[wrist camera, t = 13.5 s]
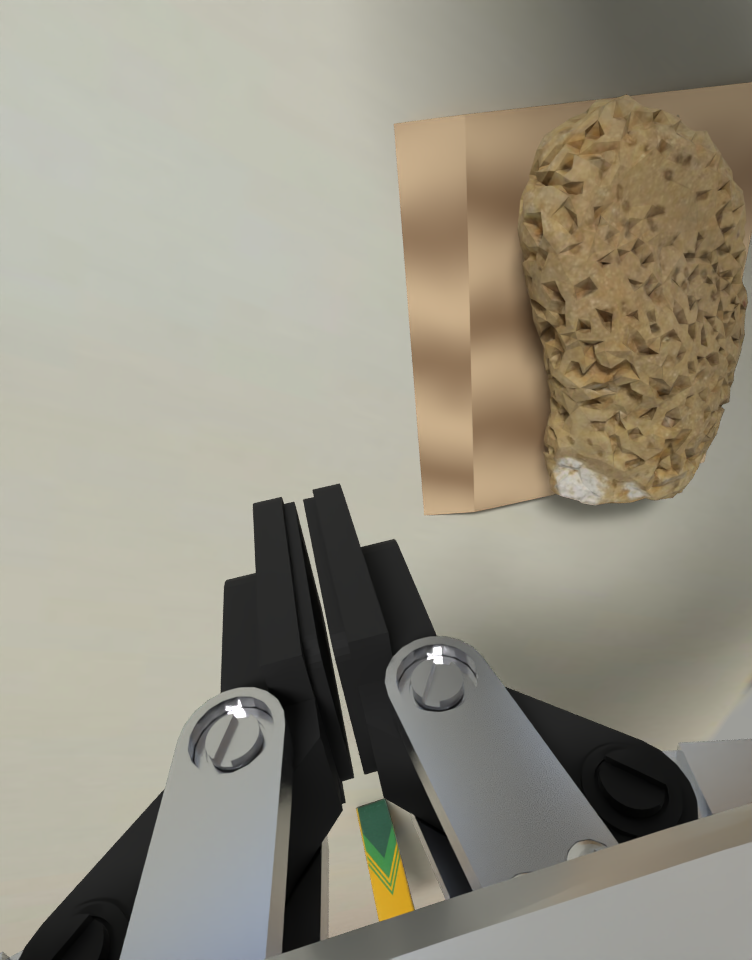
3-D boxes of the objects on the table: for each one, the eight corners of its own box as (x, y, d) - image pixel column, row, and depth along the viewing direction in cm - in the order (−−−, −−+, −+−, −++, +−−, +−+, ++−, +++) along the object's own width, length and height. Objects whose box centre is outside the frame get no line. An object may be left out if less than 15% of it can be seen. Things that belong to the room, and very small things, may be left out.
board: (362, 129, 27) (370, 125, 25) (752, 84, 30) (784, 78, 28) (400, 510, 37) (408, 526, 36) (684, 450, 40) (704, 462, 39)
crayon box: (398, 839, 54) (434, 988, 44) (368, 849, 53) (398, 1001, 43) (387, 796, 50) (424, 948, 40) (355, 806, 50) (384, 962, 40)
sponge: (656, 439, 38) (803, 89, 25) (712, 518, 32) (940, 112, 19) (468, 441, 38) (520, 86, 25) (489, 521, 32) (572, 108, 19)
